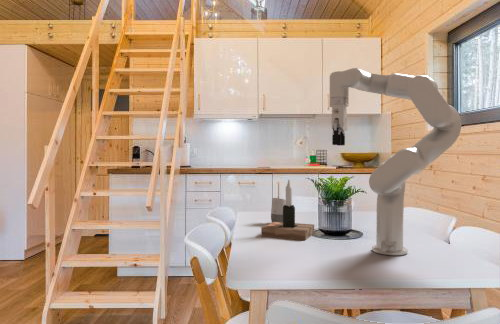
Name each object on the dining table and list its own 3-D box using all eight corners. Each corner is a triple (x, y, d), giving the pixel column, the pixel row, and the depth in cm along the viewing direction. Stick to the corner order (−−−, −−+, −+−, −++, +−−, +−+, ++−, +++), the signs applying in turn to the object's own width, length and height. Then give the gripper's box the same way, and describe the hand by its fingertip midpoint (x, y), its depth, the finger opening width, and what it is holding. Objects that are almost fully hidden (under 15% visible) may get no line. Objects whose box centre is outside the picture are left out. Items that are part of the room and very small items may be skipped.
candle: (293, 233, 178) (293, 179, 178) (295, 236, 173) (295, 180, 172) (282, 233, 178) (282, 179, 177) (283, 236, 173) (284, 180, 172)
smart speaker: (292, 223, 203) (292, 197, 203) (282, 226, 196) (282, 198, 196) (277, 221, 209) (277, 195, 209) (267, 224, 202) (267, 197, 202)
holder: (305, 240, 164) (305, 230, 164) (261, 236, 172) (261, 226, 172) (314, 233, 179) (314, 223, 179) (273, 229, 187) (273, 220, 187)
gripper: (344, 99, 147) (344, 144, 148) (351, 104, 163) (351, 145, 164) (325, 100, 150) (325, 144, 151) (333, 105, 166) (333, 145, 167)
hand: (338, 145), depth 157 cm, fingers open, 9 cm apart
